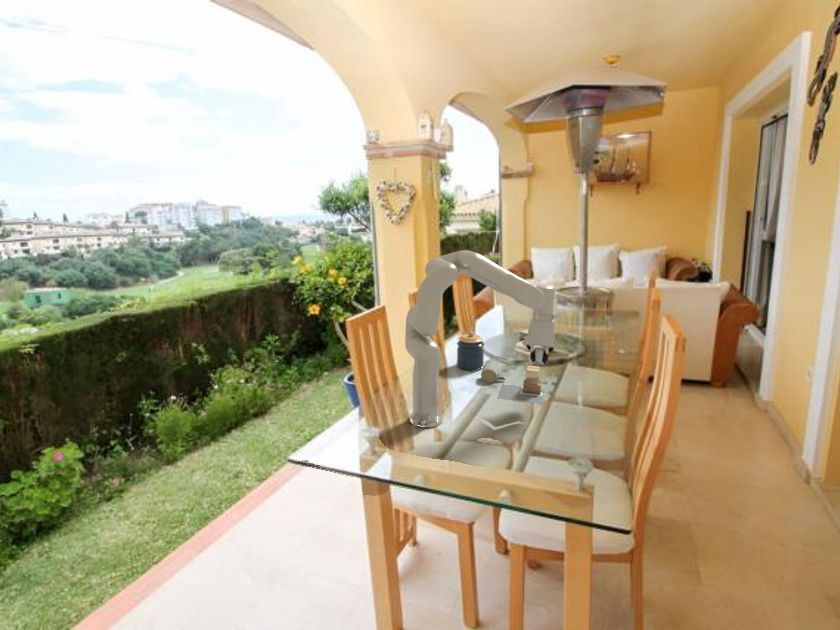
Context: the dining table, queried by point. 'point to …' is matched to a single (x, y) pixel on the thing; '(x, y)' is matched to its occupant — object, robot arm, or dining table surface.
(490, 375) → the ceramic mug
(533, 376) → the beech block
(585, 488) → the dining table surface
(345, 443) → the dining table surface
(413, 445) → the dining table surface
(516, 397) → the slate board
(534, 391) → the walnut block
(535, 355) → the grey block
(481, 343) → the canister
